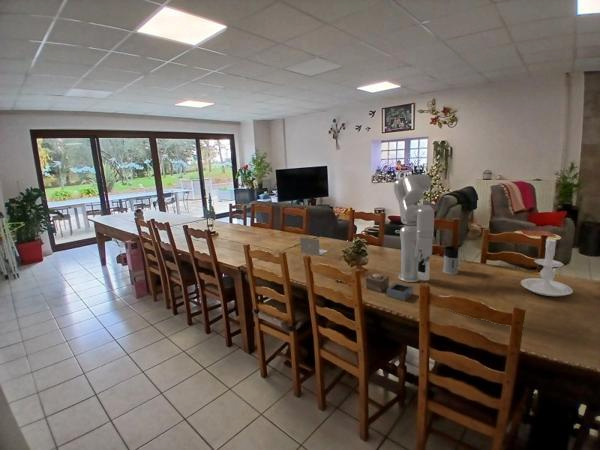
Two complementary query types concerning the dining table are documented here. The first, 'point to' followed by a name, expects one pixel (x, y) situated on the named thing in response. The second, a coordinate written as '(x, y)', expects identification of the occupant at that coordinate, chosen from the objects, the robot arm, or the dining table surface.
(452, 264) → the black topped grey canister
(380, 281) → the grey square box
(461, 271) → the dining table surface
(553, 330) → the dining table surface
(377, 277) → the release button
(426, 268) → the filter cartridge
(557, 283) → the candlestick
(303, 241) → the laptop
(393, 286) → the cartridge housing
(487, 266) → the dining table surface
